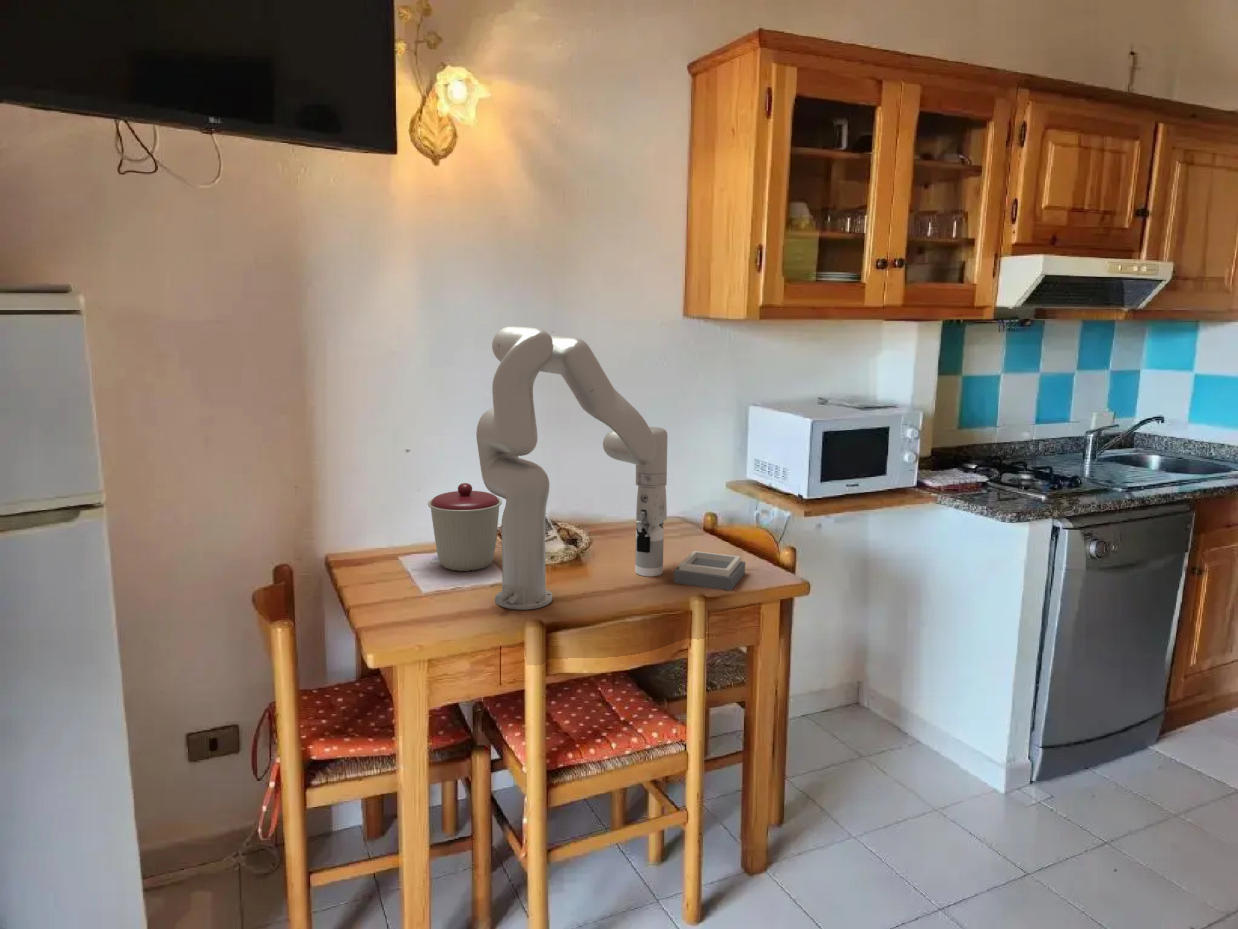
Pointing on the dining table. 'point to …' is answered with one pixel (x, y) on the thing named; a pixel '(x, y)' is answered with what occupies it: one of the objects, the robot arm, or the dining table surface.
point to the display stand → (710, 570)
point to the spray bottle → (651, 554)
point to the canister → (465, 527)
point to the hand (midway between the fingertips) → (650, 546)
